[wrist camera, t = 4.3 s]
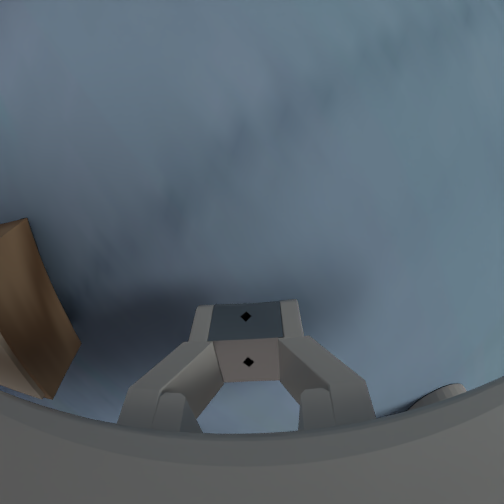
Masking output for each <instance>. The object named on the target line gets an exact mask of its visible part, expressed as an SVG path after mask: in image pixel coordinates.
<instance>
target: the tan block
mask: <svg viewBox="0 0 504 504" xmlns="http://www.w3.org/2000/svg"><path fill="white" fill-rule="evenodd" d="M81 344H82V343H81V342H80V340H79V338H78V336H77V334H76V333H75V331H74V329H73V326H72V324H71V322H70V320H69V318H68V316H67V314H66V312H65V310H64V308H63V306H62V304H61V302H60V301H59V299H58V297H57V295H56V293H55V291H54V288H53V286H52V284H51V282H50V279H49V277H48V275H47V272H46V270H45V267H44V265H43V262H42V260H41V257H40V255H39V252H38V248H37V245H36V242H35V240H34V237H33V234H32V231H31V228H30V225H29V222H28V218H23V219H20V220H17V221H12V222H8V223H4V224H0V385H2V386H5V387H7V388H10V389H13V390H15V391H18V392H21V393H24V394H27V395H30V396H33V397H36V398H39V399H43V398H44V397H45V398H48V399H52V400H53V398H54V396H55V394H56V392H57V390H58V388H59V386H60V384H61V382H62V380H63V378H64V376H65V374H66V372H67V370H68V368H69V366H70V364H71V362H72V360H73V359H74V357H75V355H76V353H77V351H78V349H79V348H80V346H81Z"/></svg>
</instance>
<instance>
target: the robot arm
mask: <svg viewBox="0 0 504 504" xmlns="http://www.w3.org/2000/svg"><path fill="white" fill-rule="evenodd" d="M270 380H280V382H281V383H282V384H283V386H284V387H285V388H286V389H287V391H288V392H289V393H290V394H291V395H292V397H293V398H294V399H295V400H296V401H297V403H298V404H299V405H300V411H299V424H298V431H288V432H274V433H252V434H213V433H203V432H202V430H201V428H200V426H199V424H198V422H197V420H196V419H197V418H198V416H199V415H200V414H201V413H202V411H203V410H204V409H205V408H206V406H207V405H208V404H209V402H210V401H211V400H212V399H213V397H214V396H215V395H216V393H217V392H218V391H219V390H220V388H221V387H222V386H223V384H224V383H223V382H244V381H270ZM0 504H504V376H502V377H500V378H498V379H496V380H494V381H491V382H489V383H487V384H484V385H482V386H480V387H477V388H475V389H472V390H470V391H467V392H464V393H462V394H459V395H456V396H454V397H451V398H448V399H445V400H442V401H439V402H436V403H433V404H430V405H426V406H423V407H420V408H416V409H413V410H409V411H405V412H402V413H398V414H394V415H389V416H385V417H381V418H376V416H375V412H374V409H373V405H372V402H371V398H370V395H369V392H368V388H367V385H366V382H365V380H364V379H363V378H362V377H360V376H359V375H358V374H356V373H355V372H354V371H353V370H351V369H350V368H349V367H348V366H346V365H345V364H344V363H343V362H341V361H340V360H339V359H338V358H336V357H335V356H334V355H333V354H331V353H330V352H329V351H328V350H326V349H325V348H324V347H323V346H321V345H320V344H319V343H318V342H316V341H315V340H314V339H313V338H311V337H310V336H304V333H303V327H302V322H301V317H300V311H299V306H298V301H297V299H290V300H281V301H275V302H262V303H248V304H247V303H243V304H215V305H199V306H198V307H197V308H196V312H195V316H194V320H193V324H192V328H191V332H190V336H189V340H188V342H183V343H182V344H180V345H179V346H178V347H177V348H176V349H175V350H173V351H172V352H171V353H170V354H169V355H168V356H166V357H165V358H164V359H163V360H162V361H160V362H159V363H158V364H157V365H156V366H155V367H153V368H152V369H151V370H150V371H149V372H147V373H146V374H145V375H144V376H143V377H141V378H140V379H139V380H138V381H137V382H135V383H134V384H133V385H132V386H131V387H129V389H128V392H127V395H126V398H125V401H124V404H123V407H122V410H121V413H120V416H119V419H118V422H117V424H115V423H110V422H105V421H100V420H95V419H91V418H86V417H82V416H78V415H74V414H70V413H66V412H62V411H59V410H55V409H52V408H48V407H45V406H42V405H39V404H36V403H33V402H30V401H27V400H24V399H21V398H18V397H16V396H13V395H10V394H8V393H5V392H3V391H0Z"/></svg>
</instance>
